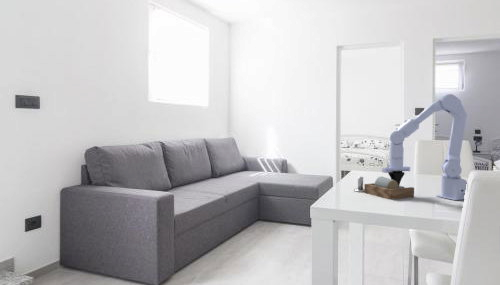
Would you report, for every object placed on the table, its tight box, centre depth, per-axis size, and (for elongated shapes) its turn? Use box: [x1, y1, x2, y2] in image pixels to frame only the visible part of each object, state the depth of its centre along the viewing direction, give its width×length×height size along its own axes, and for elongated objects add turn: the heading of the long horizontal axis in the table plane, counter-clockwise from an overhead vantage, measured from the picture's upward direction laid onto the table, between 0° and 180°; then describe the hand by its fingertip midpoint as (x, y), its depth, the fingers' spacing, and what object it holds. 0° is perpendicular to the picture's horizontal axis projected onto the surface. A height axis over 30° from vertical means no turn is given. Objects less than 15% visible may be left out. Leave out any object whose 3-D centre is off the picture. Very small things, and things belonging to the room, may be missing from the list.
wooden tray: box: [363, 182, 415, 200], centre depth 163 cm, size 16×14×4 cm
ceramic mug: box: [374, 176, 400, 189], centre depth 164 cm, size 11×8×8 cm
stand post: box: [353, 176, 364, 193], centre depth 172 cm, size 6×6×7 cm
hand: (396, 187), depth 165 cm, fingers closed
